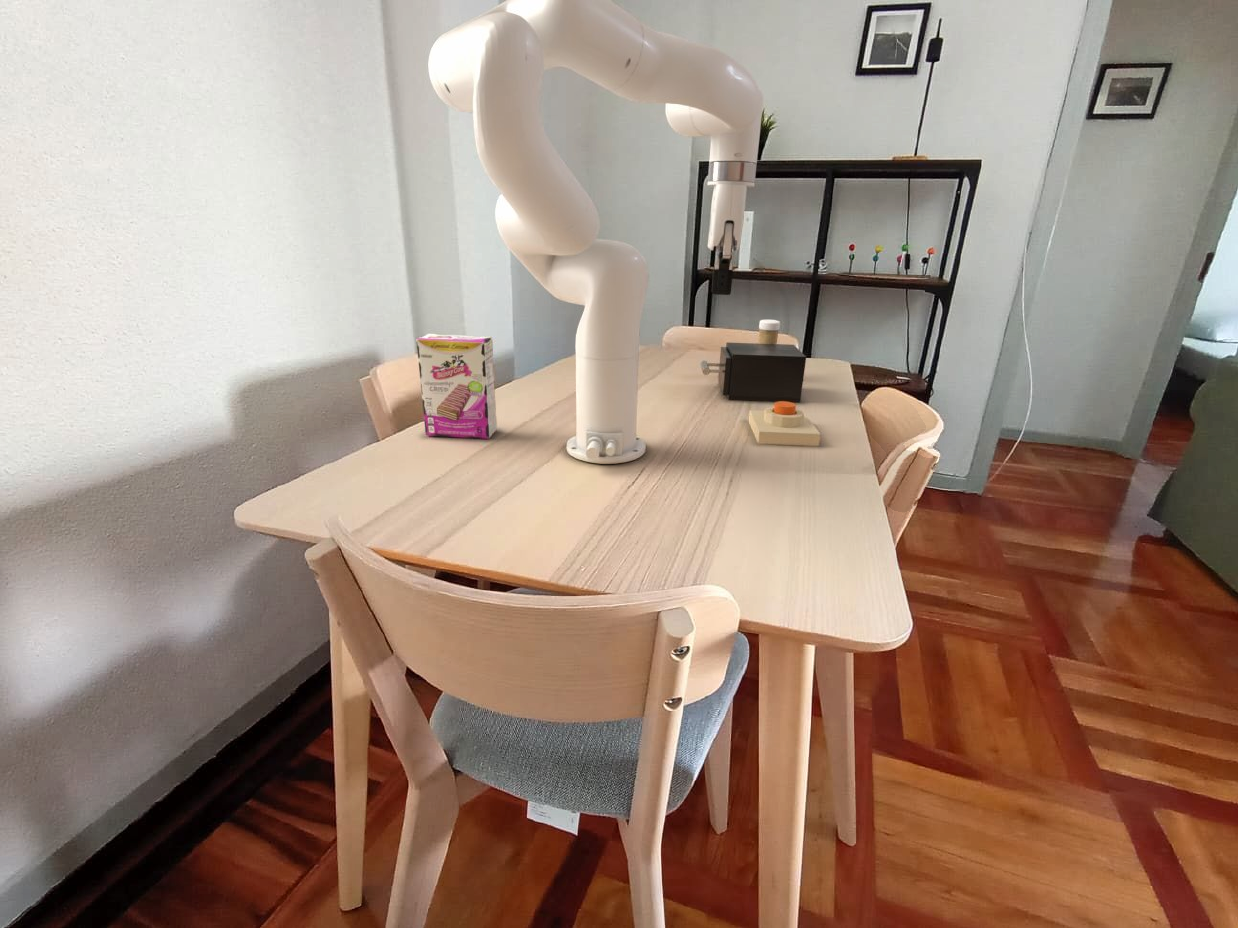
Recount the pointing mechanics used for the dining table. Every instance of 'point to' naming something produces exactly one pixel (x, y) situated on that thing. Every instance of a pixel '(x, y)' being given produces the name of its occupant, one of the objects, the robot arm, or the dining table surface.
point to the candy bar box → (457, 385)
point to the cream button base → (783, 428)
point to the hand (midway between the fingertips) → (720, 294)
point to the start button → (784, 408)
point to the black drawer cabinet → (766, 372)
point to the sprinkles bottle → (768, 331)
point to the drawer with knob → (720, 370)
